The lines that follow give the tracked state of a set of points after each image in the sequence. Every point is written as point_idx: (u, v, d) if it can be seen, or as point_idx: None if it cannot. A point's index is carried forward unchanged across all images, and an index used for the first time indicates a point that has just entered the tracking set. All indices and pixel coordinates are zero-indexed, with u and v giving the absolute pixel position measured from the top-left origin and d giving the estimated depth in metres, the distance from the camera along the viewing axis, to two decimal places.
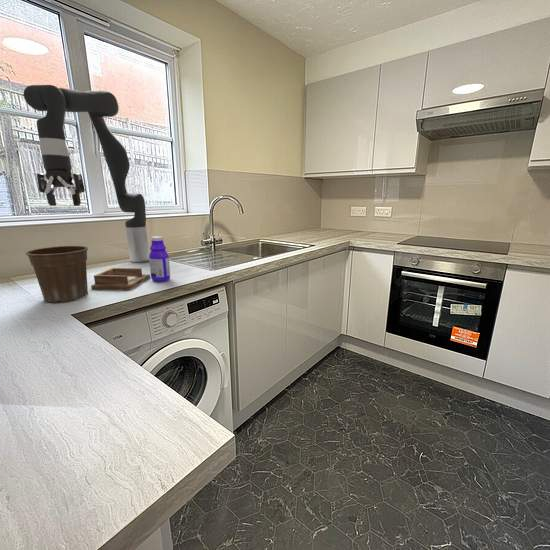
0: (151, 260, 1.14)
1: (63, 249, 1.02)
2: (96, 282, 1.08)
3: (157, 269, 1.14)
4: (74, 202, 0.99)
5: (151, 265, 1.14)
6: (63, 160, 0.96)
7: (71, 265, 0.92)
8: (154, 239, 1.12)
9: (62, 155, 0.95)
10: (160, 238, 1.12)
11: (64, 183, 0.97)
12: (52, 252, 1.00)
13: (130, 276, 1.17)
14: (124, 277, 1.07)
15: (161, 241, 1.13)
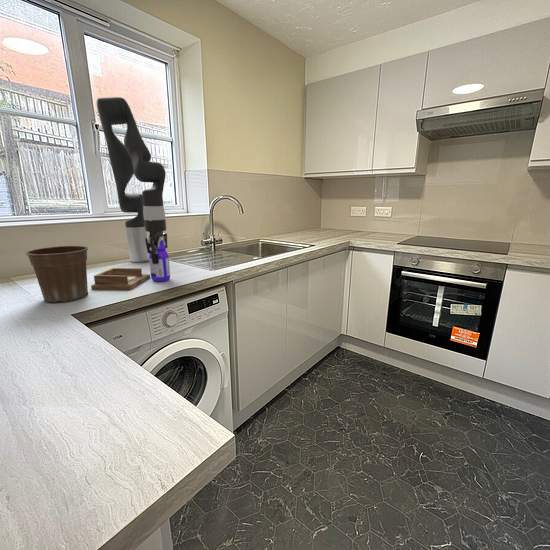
0: (151, 260, 1.14)
1: (63, 249, 1.02)
2: (96, 282, 1.08)
3: (157, 269, 1.14)
4: None
5: (151, 265, 1.14)
6: None
7: (71, 265, 0.92)
8: None
9: None
10: None
11: (163, 241, 1.16)
12: (52, 252, 1.00)
13: (130, 276, 1.17)
14: (124, 277, 1.07)
15: (161, 241, 1.13)
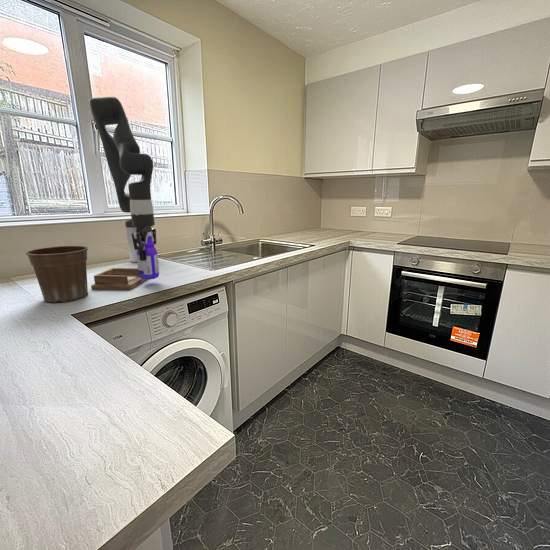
0: (139, 257, 1.09)
1: (63, 249, 1.02)
2: (96, 282, 1.08)
3: (144, 266, 1.09)
4: None
5: (139, 262, 1.09)
6: None
7: (71, 265, 0.92)
8: None
9: None
10: None
11: (152, 237, 1.11)
12: (52, 252, 1.00)
13: (130, 276, 1.17)
14: (124, 277, 1.07)
15: (149, 237, 1.08)
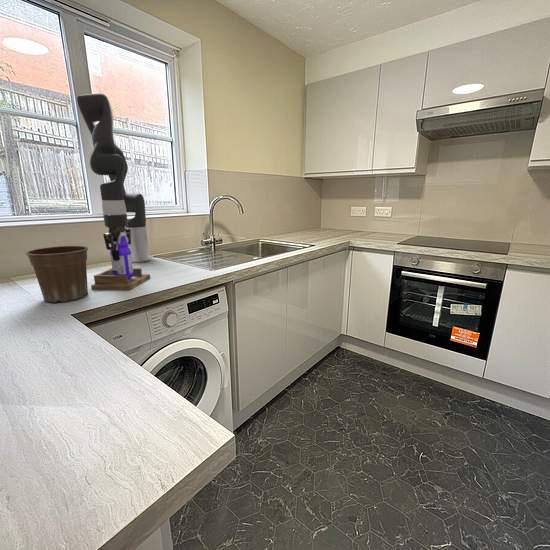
0: (112, 257, 1.09)
1: (63, 249, 1.02)
2: (96, 282, 1.08)
3: (118, 266, 1.10)
4: None
5: (112, 262, 1.10)
6: None
7: (71, 265, 0.92)
8: None
9: None
10: None
11: (126, 237, 1.11)
12: (52, 252, 1.00)
13: None
14: (124, 277, 1.07)
15: (122, 237, 1.08)
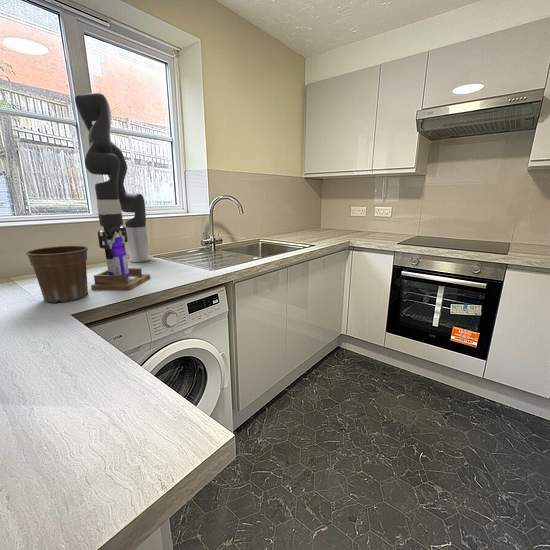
0: None
1: (63, 249, 1.02)
2: (96, 282, 1.08)
3: (113, 267, 1.10)
4: None
5: (108, 263, 1.10)
6: None
7: (71, 265, 0.92)
8: None
9: None
10: None
11: (121, 236, 1.12)
12: (52, 252, 1.00)
13: (130, 276, 1.17)
14: (124, 277, 1.07)
15: (117, 238, 1.09)
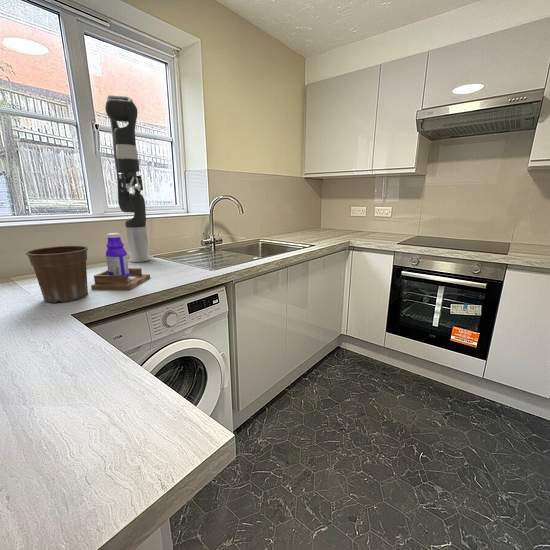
0: (108, 258, 1.09)
1: (63, 249, 1.02)
2: (96, 282, 1.08)
3: (113, 267, 1.10)
4: (140, 198, 1.22)
5: (108, 263, 1.10)
6: None
7: (71, 265, 0.92)
8: (110, 236, 1.07)
9: None
10: (116, 235, 1.08)
11: (138, 183, 1.19)
12: (52, 252, 1.00)
13: (130, 276, 1.17)
14: (124, 277, 1.07)
15: (117, 238, 1.09)
